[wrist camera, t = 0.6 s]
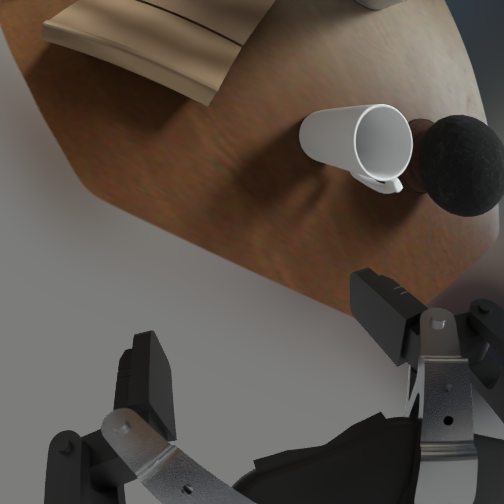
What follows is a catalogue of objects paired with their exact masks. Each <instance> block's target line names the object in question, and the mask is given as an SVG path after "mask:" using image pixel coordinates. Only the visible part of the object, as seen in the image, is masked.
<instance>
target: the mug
mask: <svg viewBox="0 0 504 504" xmlns="http://www.w3.org/2000/svg"><path fill="white" fill-rule="evenodd" d="M299 140H300V144H301V147H302V149H303V150H304V152H305V153H306V154H307V155H308V156H309V157H310V158H312V159H314V160H316V161H319V162H322V163H325V164H328V165H331V166H335V167H338V168H341V169H344V170H348V171H350V173H351V175H352V176H353V177H354V178H355V179H357V180H358V181H360V182H362V183H363V184H365V185H366V186H368V187H370V188H372V189H374V190H376V191H378V192H380V193H384V194H390V193H394V192H397V193H398V192H400V191H401V190H402V189H403V186H402V184H401V182H400V180H399V179H398V178H397V177H398V176H400V175H401V174H402V173H403V171H404V170H405V169H406V167H407V165H408V163H409V161H410V158H411V155H412V148H413V140H412V134H411V130H410V127H409V125H408V122H407V121H406V119H405V118H404V116H403V115H402V114H401V113H400V112H399V111H398V110H397V109H395V108H394V107H392V106H389V105H385V104H377V105H363V106H353V107H344V108H335V109H327V110H321V111H316V112H313V113H311V114H310V115H308V116H307V117H306V118H305V119H304V121H303V122H302V124H301V127H300V131H299ZM374 179H375V180H374ZM376 180H379V181H385V184H383V183H379V182H377V181H376Z"/></svg>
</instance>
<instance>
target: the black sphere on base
mask: <svg viewBox="0 0 504 504" xmlns="http://www.w3.org/2000/svg"><path fill="white" fill-rule="evenodd" d="M408 125H409V127H410V130H411V134H412V140H413V148H412V155H411V158H410V161H409V163H408V165H407V167H406V169H405V170H404V171H403V173H402V174H401V175H400V176H399V178H400V180H401V181H402V183H403V184H404V185H405V186H406V187H407V188H408V189H409V190H411V191H413V192H417V193H428V194H429V196H430V197H431V198H432V200H433V201H434V202H435V203H436V204H437V205H439V206H440V207H441V208H443V209H444V210H446V211H448V212H450V213H452V214H455V215H459V216H463V217H472V216H478V215H481V214H484V213H486V212H488V211H489V210H491V209H492V208H493V207H494V206H495V205H496V204H497V203H498V202H499V201H500V200H501V198H502V196H503V195H504V146H503V144H502V142H501V140H500V139H499V138H498V136H497V135H496V134H495V132H494V131H493V130H492V129H491V128H490V127H488V126H487V125H486V124H485V123H483V122H482V121H480V120H478V119H476V118H473V117H469V116H465V115H452V116H448V117H445V118H442V119H440V120H438V121H437V122H436V123H433V122H432V121H430V120H427V119H414V120H412V121H410V122H408Z"/></svg>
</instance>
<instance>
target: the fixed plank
mask: <svg viewBox="0 0 504 504" xmlns="http://www.w3.org/2000/svg"><path fill="white" fill-rule="evenodd" d="M136 1H139V2H141V3H144V4H147V5H150V6H153V7H155V8H158V9H160V10H163V11H166V12H168V13H170V14H173V15H175V16H178V17H180V18H182V19H185V20H187V21H189V22H191V23H194V24H196V25H198V26H200V27H202V28H205V29H207V30H209V31H211V32H213V33H215V34H217V35H219V36H221V37H223V38H225V39H227V40H229V41H231V42H232V43H234V44H236V45H238V46H240V47H242V46H243V45H244V44H245V42H246V41H247V39H248V38H249V36H250V35H251V34H252V32H253V31H254V29H255V28H256V27H257V25H258V24H259V22H260V21H261V20H262V18H263V17H264V16H265V14H266V13H267V12H268V10H269V9H270V8H271V6H272V5H273V4H274V2H275V1H276V0H136Z"/></svg>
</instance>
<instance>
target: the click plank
mask: <svg viewBox="0 0 504 504" xmlns="http://www.w3.org/2000/svg"><path fill="white" fill-rule="evenodd" d="M42 40H45V41H48V42H51V43H55V44H58V45H61V46H64V47H67V48H70V49H73V50H76V51H79V52H82V53H85V54H88V55H91V56H93V57H96V58H99V59H101V60H104V61H107V62H109V63H112V64H114V65H117V66H120V67H122V68H125V69H127V70H129V71H132V72H134V73H137V74H139V75H141V76H144V77H146V78H148V79H151V80H153V81H155V82H157V83H160V84H162V85H164V86H166V87H168V88H170V89H173V90H175V91H177V92H179V93H181V94H183V95H185V96H187V97H189V98H191V99H193V100H195V101H197V102H199V103H201V104H203V105H205V106H207V107H208V105H209V104H210V102H211V101H212V99H213V98H214V96H215V95H216V93H217V92H218V90H219V87H220V86H221V84H222V82H223V80H224V78H225V76H226V75H227V73H228V71H229V69H230V67H231V66H232V64H233V62H234V60H235V59H236V57H237V55H238V53H239V52H240V50H241V48H242V47H240V46H238V45H236V44H234V43H232V42H231V41H229V40H227V39H225V38H223V37H221V36H219V35H217V34H215V33H213V32H211V31H209V30H207V29H205V28H202V27H200V26H198V25H196V24H194V23H191V22H189V21H187V20H185V19H182V18H180V17H178V16H175V15H173V14H170V13H168V12H166V11H163V10H160V9H158V8H155V7H153V6H150V5H147V4H144V3H141V2H139V1H136V0H78V1H77V2H75V3H74V4H72V5H71V6H69V7H68V8H66V9H65V10H63V11H62V12H60V13H59V14H57V15H56V16H54V17H53V18H52V19H50V20H49V21H48V20H46V21H45V22H44V23H43V29H42Z"/></svg>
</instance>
